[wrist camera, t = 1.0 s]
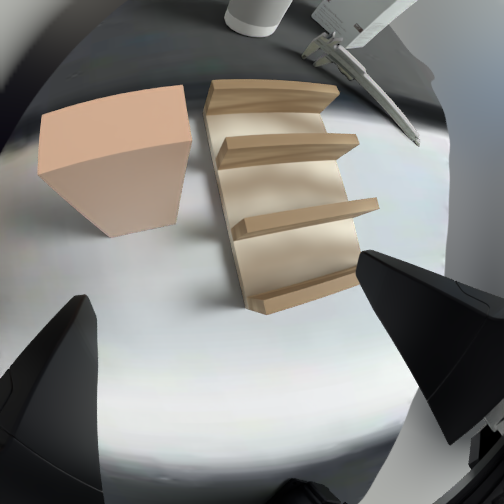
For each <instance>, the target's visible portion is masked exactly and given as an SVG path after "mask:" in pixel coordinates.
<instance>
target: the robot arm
mask: <svg viewBox="0 0 504 504" xmlns="http://www.w3.org/2000/svg"><path fill="white" fill-rule="evenodd" d="M355 273H356V277H357V279H358V281H359V283H360V285H361V287H362V289H363V291H364V293H365V295H366V297H367V298H368V300H369V302H370V304H371V306H372V308H373V310H374V312H375V313H376V315H377V317H378V318H379V320H380V321H381V323H382V324H383V326H384V328H385V329H386V331H387V333H388V334H389V336H390V337H391V339H392V341H393V342H394V344H395V346H396V347H397V349H398V351H399V352H400V354H401V356H402V357H403V359H404V361H405V363H406V364H407V366H408V368H409V370H410V371H411V373H412V375H413V377H414V378H415V380H416V382H417V384H418V386H419V387H420V389H421V391H422V393H423V395H424V397H425V398H426V400H427V403H428V404H429V406H430V408H431V410H432V412H433V414H434V416H435V418H436V420H437V422H438V424H439V426H440V428H441V430H442V432H443V434H444V436H445V438H446V440H447V442H448V444H449V445H452V444H453V443H454V442H455V441H457V440H458V439H459V438H460V437H462V436H463V435H464V434H466V433H467V432H468V431H469V430H470V429H472V428H473V427H474V426H475V425H476V424H477V423H478V422H480V421H481V420H482V419H484V420H485V422H486V424H485V425H484V426H483V427H482V428H481V429H480V430H479V431H478V432H477V433H476V434H475V435H474V436H473V437H472V438H471V447H470V456H469V463H468V464H469V467H470V468H471V471H470V472H469V473H467V475H466V476H464V477H463V479H461V480H460V481H459V482H458V483H457V484H456V485H455V486H454V487H452V488H451V489H450V490H449V491H448V492H447V493H445V494H444V495H443V496H442V497H441V498H439V499H438V500H437V501H436V502H434V503H433V504H504V298H501V297H498V296H495V295H492V294H490V293H487V292H484V291H481V290H478V289H476V288H473V287H470V286H468V285H465V284H462V283H460V282H457V281H454V280H452V279H449V278H447V277H445V276H442V275H439V274H437V273H434V272H431V271H429V270H426V269H423V268H421V267H418V266H415V265H413V264H410V263H407V262H404V261H402V260H399V259H396V258H393V257H391V256H388V255H385V254H382V253H379V252H376V251H374V250H366V251H362V252H361V253H360V254H359V258H358V262H357V267H356V271H355ZM97 381H98V348H97V318H96V314H95V312H94V310H93V307H92V305H91V302H90V300H89V298H88V296H87V295H85V294H84V295H76V296H74V297H73V298H72V299H71V300H70V301H69V302H68V303H67V304H66V305H65V306H64V307H63V308H62V309H61V310H60V311H59V312H58V313H57V314H56V315H55V316H54V317H53V318H52V319H51V320H50V321H49V323H48V324H47V325H46V326H45V327H44V328H43V329H42V330H41V331H40V332H39V333H38V335H37V336H36V337H35V338H34V339H33V340H32V341H31V342H30V344H29V345H28V346H27V347H26V348H25V349H24V351H23V352H22V353H21V354H20V355H19V356H18V358H17V359H16V360H15V361H14V362H13V364H12V365H11V366H10V369H8V370H7V371H6V372H5V374H4V375H3V376H2V377H1V379H0V504H105V502H104V496H103V492H102V483H101V474H100V464H99V452H98V434H97ZM267 504H341V501H340V500H339V499H338V498H337V497H335V496H334V495H333V494H332V493H331V492H330V491H329V489H328V488H327V487H325V486H324V485H322V484H318V483H315V482H311V481H310V482H306V481H302V480H299V479H295V478H294V479H291V480H290V481H289V482H288V483H287V484H286V485H285V486H284V487H283V488H282V489H281V490H280V491H279V492H278V493H277V494H276V495H275V496H274V497H273V498H272V499H271V500H270V501H269V502H268V503H267ZM343 504H347V503H346V502H345V503H343Z"/></svg>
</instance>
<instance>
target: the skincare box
mask: <svg viewBox="0 0 504 504" xmlns="http://www.w3.org/2000/svg"><path fill="white" fill-rule="evenodd" d="M416 1H417V0H323V1H322V2H321V3H320V5H319V6H318V7H317V8H316V10H315V11H314V12H313V14H312V16H311V17H312V18H313V19H314V20H315V21H317V22H318V23H319V24H320V25H321V26H322V27H323V28H324V29H325V30H326V31H327V32H328V33H329V34H331V33H332V32H334V31H335V35H334V37H333V38H334V39H335V38H343V40H342V42H340V43H339V44H340V45H341V46H343V47H344V48H345V49H349V48H358V47H363V46H364V45H365V44H366V43H368V42H369V41H370V40H371V39H372V38H373V37H374V36H375V35H376V34H378V33H379V32H380V31H381V30H382V29H383V28H385V27H386V26H387V25H388V24H389V23H390V22H391V21H393V20H394V19H395V18H396V17H397V16H399V15H400V14H401V13H402V12H403V11H405V10H406V9H407V8H408V7H410V6H411V5H412V4H413V3H414V2H416Z"/></svg>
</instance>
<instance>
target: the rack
mask: <svg viewBox="0 0 504 504" xmlns="http://www.w3.org/2000/svg"><path fill="white" fill-rule="evenodd" d="M339 94H340V93H339V91H338V89H337V87H336V86H333V85H325V84H317V83H307V82H296V81H282V80H255V79H233V80H212V82H211V86H210V89H209V92H208V96H207V99H206V103H205V106H204V110H203V117H204V122H205V127H206V132H207V137H208V142H209V147H210V151H211V156H212V161H213V166H214V170H215V175H216V180H217V185H218V189H219V194H220V198H221V203H222V207H223V212H224V217H225V221H226V226H227V230H228V234H229V239H230V243H231V248H232V252H233V256H234V261H235V265H236V269H237V274H238V278H239V282H240V287H241V291H242V295H243V299H244V303H245V308H246V309H249V310H252V311H255V312H258V313H261V314H265V315H269V314H272V313H275V312H278V311H282V310H285V309H288V308H291V307H295V306H298V305H301V304H304V303H307V302H310V301H313V300H316V299H319V298H322V297H325V296H328V295H331V294H334V293H337V292H340V291H342V290H345V289H348V288H351V287H354V286H357V285H359V284H360V283H359V281H358V279H357V277H356V273H355V271H356V267H357V262H358V258H359V254H360V253H361V251H360V247H359V242H358V238H357V234H356V230H355V226H354V222H353V218H354V217H357V216H360V215H363V214H366V213H368V212H371V211H374V210H377V209H380V208H379V205H378V201H377V197H376V198H368V199H361V200H354V201H348V199H347V195H346V192H345V188H344V185H343V181H342V178H341V175H340V171H339V168H338V165H337V162H336V160H337V159H338V158H340V157H341V156H343V155H344V154H346V153H347V152H349V151H350V150H352V149H353V148H355V147H356V146H358V145H359V141H358V138H357V136H356V134H335V133H327V132H326V129H325V126H324V124H323V121H322V118H321V115H320V113H321V112H322V111H323V110H324V109H325V108H326V107H327V106H328V105H329V104H330V103H331V102H332V101H333V100H334V99H335V98H336V97H337V96H338V95H339Z"/></svg>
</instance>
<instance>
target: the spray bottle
mask: <svg viewBox="0 0 504 504" xmlns="http://www.w3.org/2000/svg"><path fill="white" fill-rule="evenodd" d="M291 2H292V0H230V2H229V5H228V7H227V10H226V13H225V16H224V19H225V22H226V24H227V25H228V26H229V27H230V28H231V29H232V30H234V31H236V32H238V33H240V34H243V35H246V36H250V37H267V36H269V35H271V34H273V33H274V31H275V30H276V28H277V26H278V24H279V23H280V21H281V19H282V17H283V16H284V14H285V12H286V11H287V9H288V7H289V5H290V4H291Z"/></svg>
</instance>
